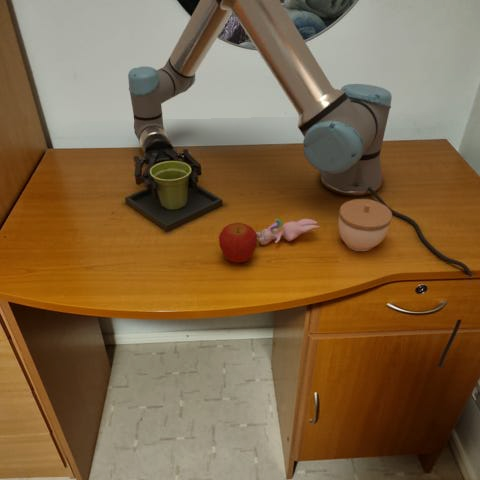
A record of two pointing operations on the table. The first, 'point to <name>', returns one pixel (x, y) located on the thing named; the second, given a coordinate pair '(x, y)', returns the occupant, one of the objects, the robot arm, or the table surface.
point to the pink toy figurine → (285, 230)
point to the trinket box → (363, 223)
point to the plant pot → (171, 183)
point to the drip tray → (174, 218)
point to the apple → (238, 242)
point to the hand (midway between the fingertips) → (175, 190)
